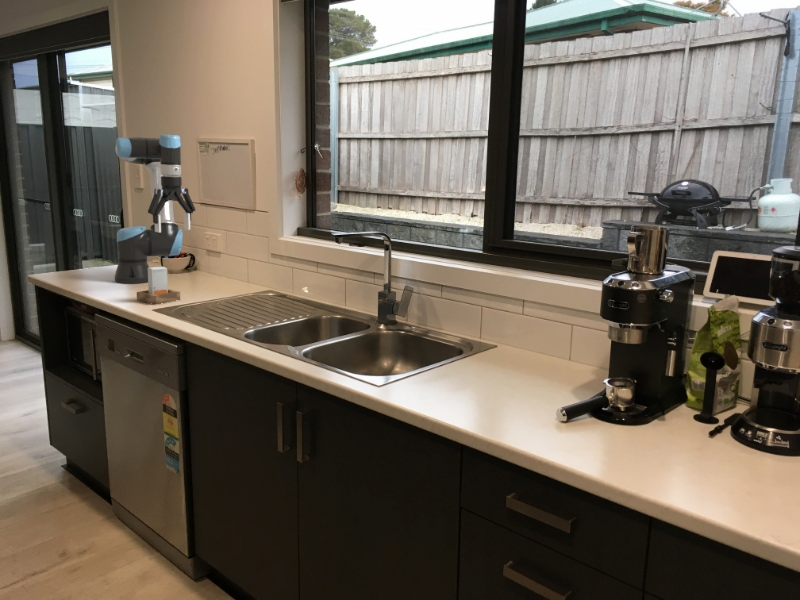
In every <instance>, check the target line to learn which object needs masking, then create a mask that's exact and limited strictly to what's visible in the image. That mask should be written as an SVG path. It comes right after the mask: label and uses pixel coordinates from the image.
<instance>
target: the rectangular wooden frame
mask: <svg viewBox="0 0 800 600" xmlns="http://www.w3.org/2000/svg"><path fill="white" fill-rule="evenodd" d="M176 300H179V301H181V291H178V290H174V289H168V293H165V294H159V295H154V294H149V291H148V289H147V290H140V291H136V301H137V302H141V301H142V302H141V303H145V302H148V303H147V304H150V303H152V304H151V305H154V304H158V305H162V304H161V303H163V304H167V303H166V302H169V303H172V302H171V301H174V302H177V301H176Z"/></svg>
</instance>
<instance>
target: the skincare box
mask: <svg viewBox="0 0 800 600" xmlns="http://www.w3.org/2000/svg"><path fill="white" fill-rule="evenodd" d="M147 284H148V286H147V287H148V289H147V290H148V291H149V294H154V295H159V294H165V293H168V287H169V285H168V268H167V267H165V266H153V267H149V268H148V282H147Z"/></svg>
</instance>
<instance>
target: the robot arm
mask: <svg viewBox="0 0 800 600" xmlns="http://www.w3.org/2000/svg"><path fill="white" fill-rule="evenodd" d="M115 141H116V143H115V148H114V149H115V150H114V151H115V153H116V156H117V157H118V158H119V159H120V160H122V161H124V162H127V163H131V164H133V165H135V164H136V165H145V166H144V167H145V169H146V171H148V172H149V179H150V180H149V181H150V191H151V192H150V193H151V202H150V205H149V207H148V210H147V214H149V215H151V216H152V224H151V225H150V226H149V227H150V229H147V227H146V226H144V225H138V226H137V225H136V226H129V227H123V228H120V229H118V230H117V232H116V243H117V262H118V263H117V266H116V271H115V274H114V282H115V283H119V284H142V283H143V284H144V283H148V268H150V267H149V264H148V257H172V256H179V255H180V254H181V252H182V247H183V237H184V236H183V229H184V230H187V231H188V230H189V231H190V230H191V221H192V214H193V213H194V212H196V207H195V206H194V205H195V204H194V203H193V201H192V197H191V196H190V194H189V188H187V187H182V184H183V183H182V182H183V181H182V180H183V179H182V177H181V176H182V159H181V158H182V156H181V154H182V152H181V151H182V148H181V147H182V143H181V137H180V135H177V134H176V135H175V134H159V138H158V137H157V138H156V137H137V136H135V137H125V136H124V137H117V138H116V140H115ZM173 201H177V202H178V204H179V205H180V207H181V208H182V209H183V210H184V212H183V227H184V228H183V229H181V228H179V225H178V223H177V222H175V215H174V204H173V203H174V202H173Z"/></svg>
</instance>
